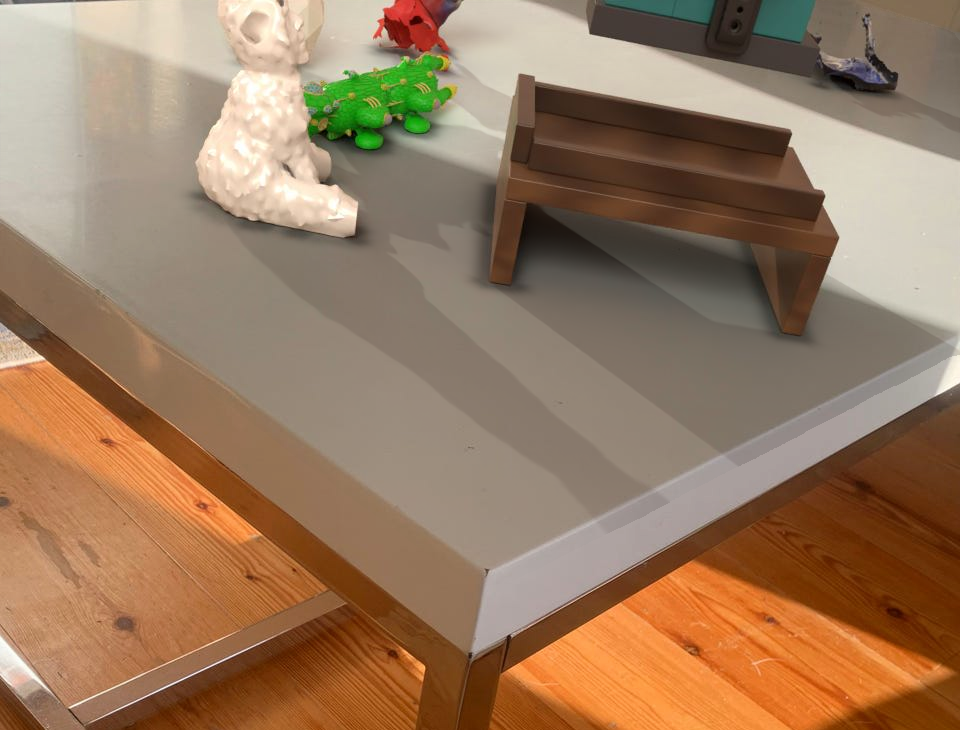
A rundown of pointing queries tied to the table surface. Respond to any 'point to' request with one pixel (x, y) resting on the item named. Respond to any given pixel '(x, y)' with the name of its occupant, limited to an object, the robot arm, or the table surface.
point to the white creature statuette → (271, 131)
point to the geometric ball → (303, 3)
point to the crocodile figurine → (378, 100)
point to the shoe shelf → (665, 182)
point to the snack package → (860, 65)
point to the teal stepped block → (684, 21)
